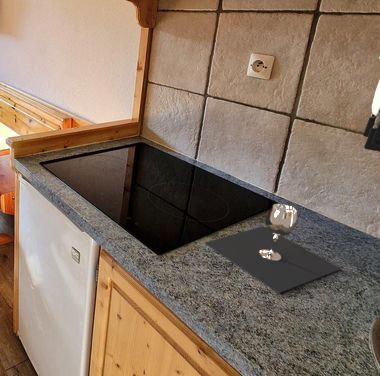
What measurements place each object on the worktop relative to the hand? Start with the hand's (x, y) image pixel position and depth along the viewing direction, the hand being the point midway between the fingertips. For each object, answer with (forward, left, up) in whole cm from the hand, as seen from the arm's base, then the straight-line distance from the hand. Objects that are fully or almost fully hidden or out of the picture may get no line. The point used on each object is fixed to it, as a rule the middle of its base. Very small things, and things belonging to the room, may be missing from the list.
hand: (373, 143), depth 79 cm
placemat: (+7, +10, -28) cm, 31 cm away
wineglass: (+7, +10, -28) cm, 31 cm away
